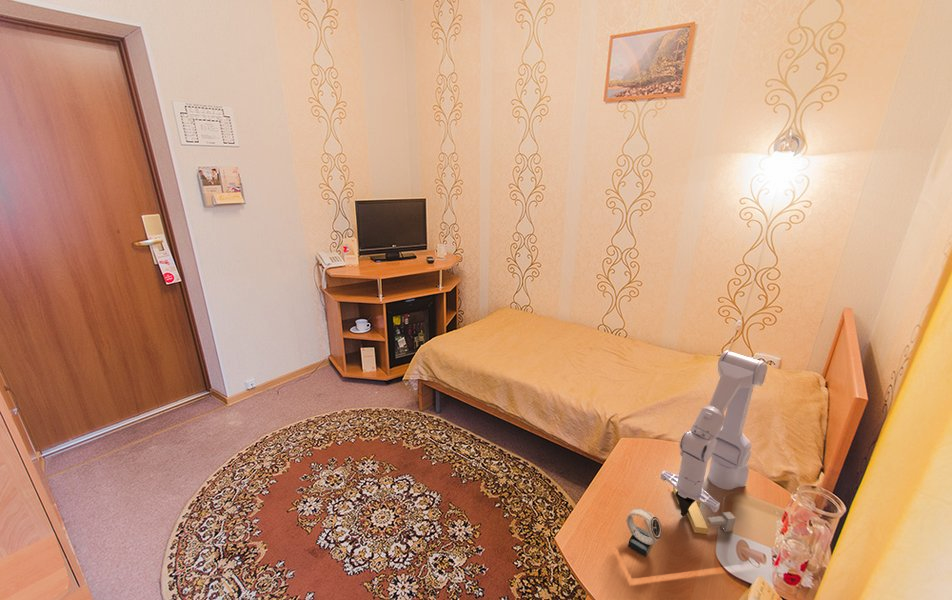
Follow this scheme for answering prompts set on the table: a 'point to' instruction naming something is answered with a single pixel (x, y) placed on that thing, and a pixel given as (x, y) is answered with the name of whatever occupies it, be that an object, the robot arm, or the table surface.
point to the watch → (643, 531)
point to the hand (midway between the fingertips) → (684, 514)
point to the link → (695, 517)
